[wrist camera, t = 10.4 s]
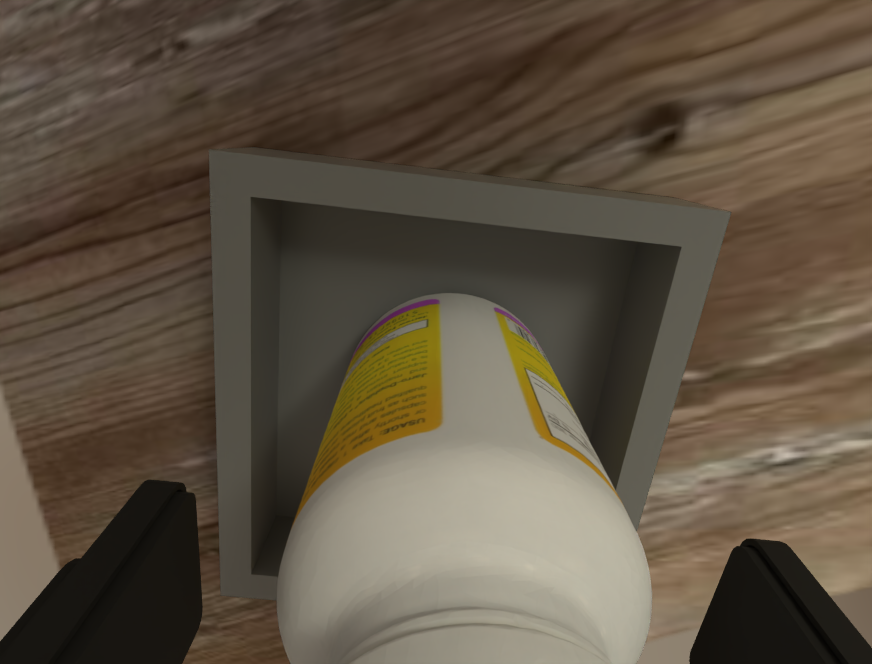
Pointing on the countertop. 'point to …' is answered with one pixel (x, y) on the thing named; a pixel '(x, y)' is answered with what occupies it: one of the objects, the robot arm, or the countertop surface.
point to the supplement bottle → (459, 509)
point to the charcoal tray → (425, 275)
